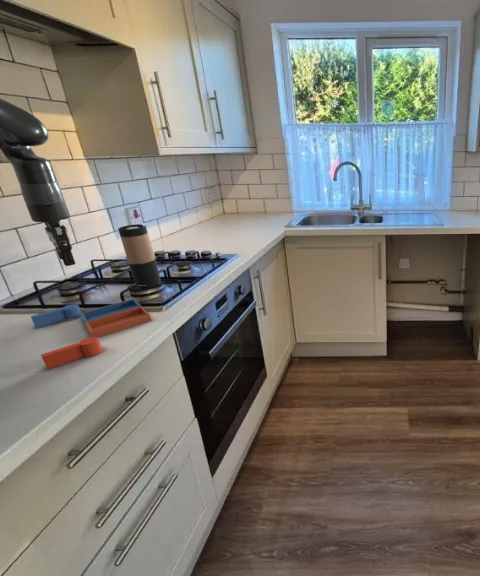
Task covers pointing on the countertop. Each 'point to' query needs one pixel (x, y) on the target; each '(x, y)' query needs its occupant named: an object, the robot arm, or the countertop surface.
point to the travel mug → (140, 255)
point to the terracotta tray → (117, 321)
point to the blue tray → (109, 310)
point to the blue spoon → (56, 315)
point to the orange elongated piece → (72, 352)
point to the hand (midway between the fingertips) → (67, 261)
